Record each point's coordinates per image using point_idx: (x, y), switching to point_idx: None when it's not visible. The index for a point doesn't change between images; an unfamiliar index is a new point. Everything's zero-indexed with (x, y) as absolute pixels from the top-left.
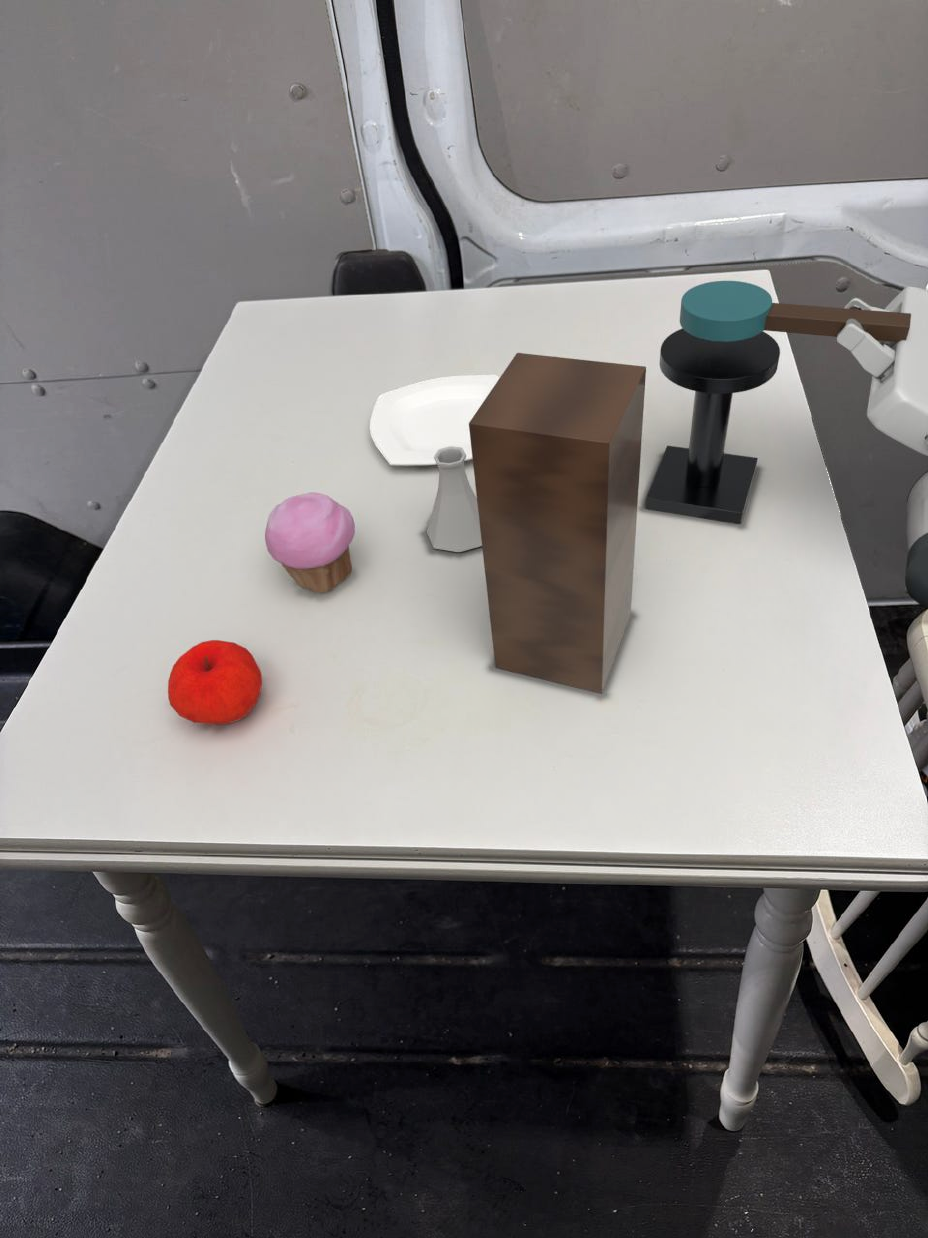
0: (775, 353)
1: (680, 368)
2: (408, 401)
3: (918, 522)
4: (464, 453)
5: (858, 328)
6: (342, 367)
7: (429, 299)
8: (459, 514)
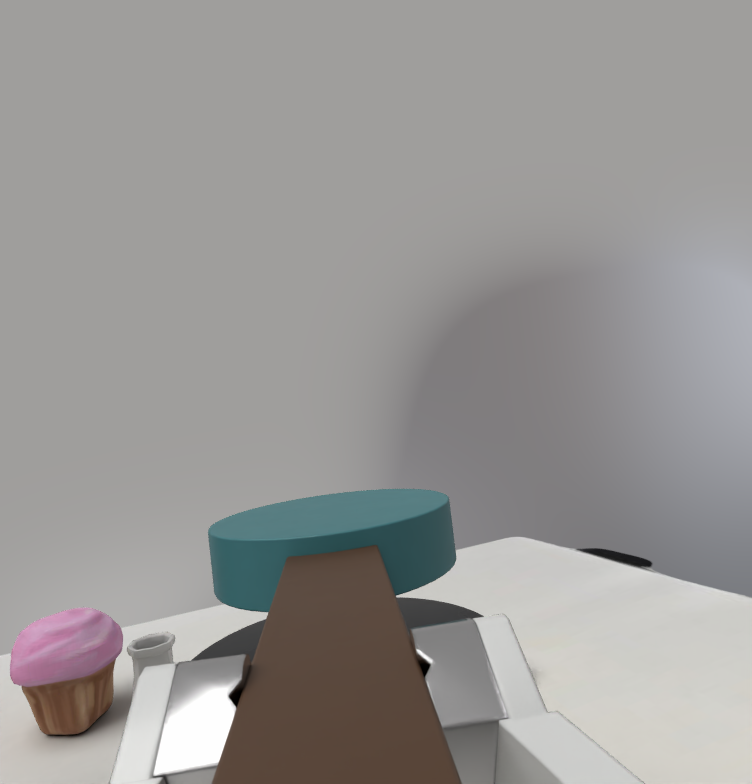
0: None
1: (230, 640)
2: None
3: None
4: (153, 647)
5: (154, 712)
6: (465, 593)
7: (644, 578)
8: None
